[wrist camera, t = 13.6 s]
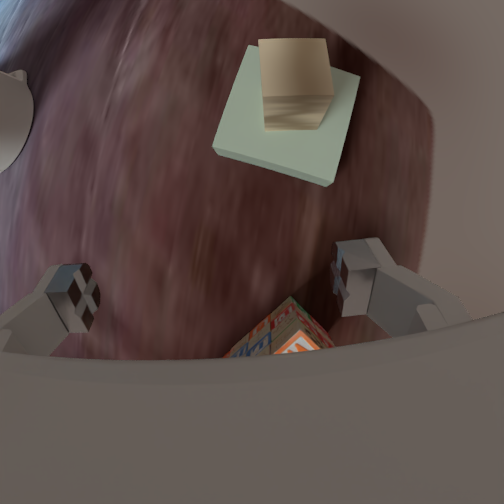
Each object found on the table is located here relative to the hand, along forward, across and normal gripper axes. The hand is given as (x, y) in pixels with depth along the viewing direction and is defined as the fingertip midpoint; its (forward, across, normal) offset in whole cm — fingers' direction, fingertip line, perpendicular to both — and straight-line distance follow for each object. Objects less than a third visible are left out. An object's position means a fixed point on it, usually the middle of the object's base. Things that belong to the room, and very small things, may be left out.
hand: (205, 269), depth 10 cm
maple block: (+24, -6, -1) cm, 24 cm away
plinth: (+27, -6, +1) cm, 28 cm away
